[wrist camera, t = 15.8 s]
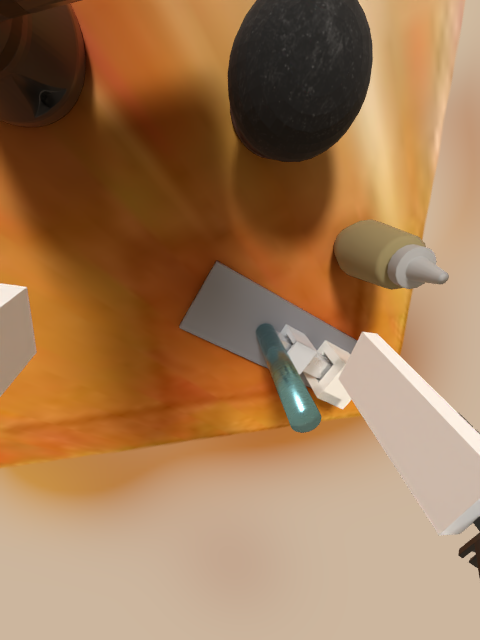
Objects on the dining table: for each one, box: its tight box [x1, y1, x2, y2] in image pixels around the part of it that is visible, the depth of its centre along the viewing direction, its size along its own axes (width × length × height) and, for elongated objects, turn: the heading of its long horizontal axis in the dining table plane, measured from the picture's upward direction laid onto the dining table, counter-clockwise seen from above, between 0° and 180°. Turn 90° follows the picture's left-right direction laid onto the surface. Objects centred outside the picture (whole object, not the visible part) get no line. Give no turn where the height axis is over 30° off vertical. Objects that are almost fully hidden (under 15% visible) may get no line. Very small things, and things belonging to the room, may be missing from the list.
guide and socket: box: [179, 261, 357, 409], centre depth 44 cm, size 30×12×8 cm, turn 59°
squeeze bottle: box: [334, 219, 449, 289], centre depth 35 cm, size 8×8×18 cm
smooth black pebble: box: [228, 0, 373, 162], centre depth 28 cm, size 13×13×15 cm
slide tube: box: [256, 323, 333, 433], centre depth 39 cm, size 16×3×20 cm, turn 59°
